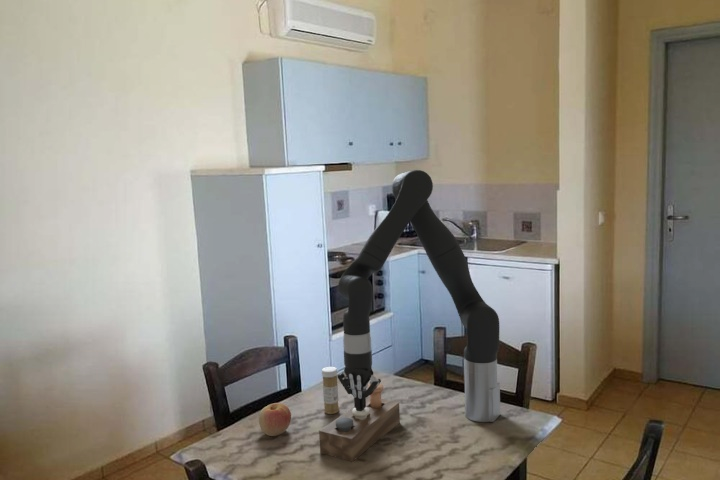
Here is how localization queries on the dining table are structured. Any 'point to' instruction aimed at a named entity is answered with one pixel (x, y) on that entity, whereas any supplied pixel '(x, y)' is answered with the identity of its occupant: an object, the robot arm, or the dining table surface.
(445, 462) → the dining table surface
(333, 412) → the sprinkles bottle
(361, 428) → the walnut block
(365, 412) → the cream plug
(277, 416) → the apple
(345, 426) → the charcoal plug
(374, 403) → the terracotta plug
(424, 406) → the dining table surface
